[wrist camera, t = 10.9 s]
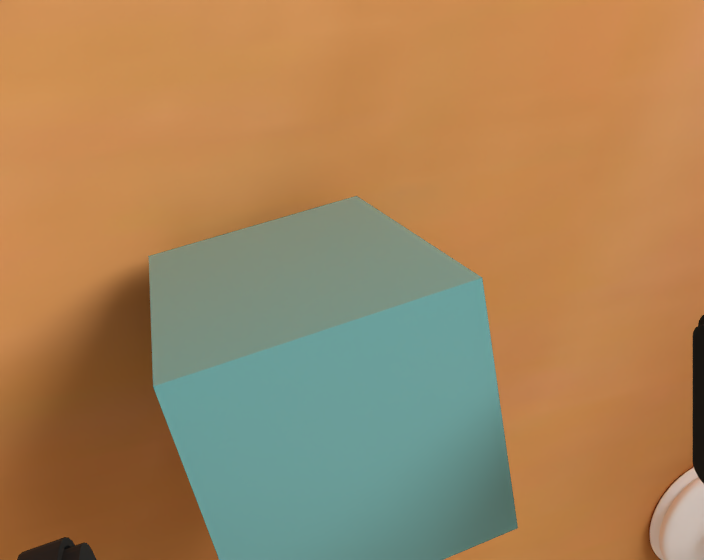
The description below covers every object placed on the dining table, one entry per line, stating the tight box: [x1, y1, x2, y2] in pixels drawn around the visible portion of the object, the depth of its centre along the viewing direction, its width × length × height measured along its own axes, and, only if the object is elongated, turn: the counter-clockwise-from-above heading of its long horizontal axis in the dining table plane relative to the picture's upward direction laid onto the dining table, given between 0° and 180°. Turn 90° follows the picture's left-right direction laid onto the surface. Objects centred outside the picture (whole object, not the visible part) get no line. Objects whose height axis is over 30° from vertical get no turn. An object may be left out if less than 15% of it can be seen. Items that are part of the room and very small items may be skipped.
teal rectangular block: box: [149, 196, 518, 560], centre depth 14 cm, size 5×5×7 cm
